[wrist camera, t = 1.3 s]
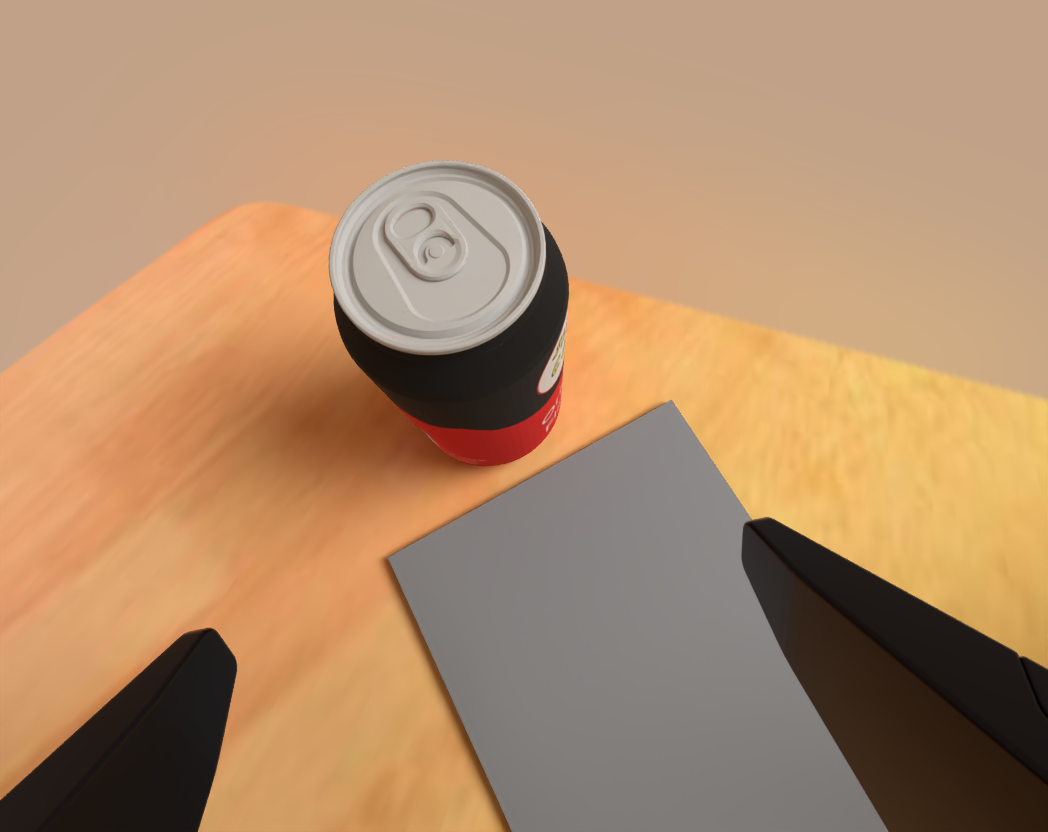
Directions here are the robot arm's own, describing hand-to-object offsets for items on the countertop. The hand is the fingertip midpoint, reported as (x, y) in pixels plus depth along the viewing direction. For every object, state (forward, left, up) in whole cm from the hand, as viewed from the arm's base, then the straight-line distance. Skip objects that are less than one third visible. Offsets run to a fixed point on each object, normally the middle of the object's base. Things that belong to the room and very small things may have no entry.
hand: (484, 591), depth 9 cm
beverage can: (+7, -2, -13) cm, 15 cm away
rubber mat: (-7, -2, -13) cm, 15 cm away
